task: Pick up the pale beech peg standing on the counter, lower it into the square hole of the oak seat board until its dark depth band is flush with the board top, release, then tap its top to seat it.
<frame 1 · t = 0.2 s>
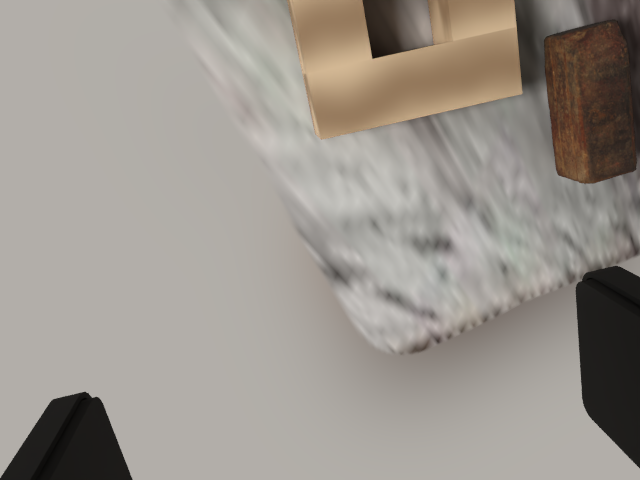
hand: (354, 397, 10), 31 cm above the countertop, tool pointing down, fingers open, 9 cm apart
brick: (569, 102, 41), on the countertop
seat board: (391, 13, 37), on the countertop
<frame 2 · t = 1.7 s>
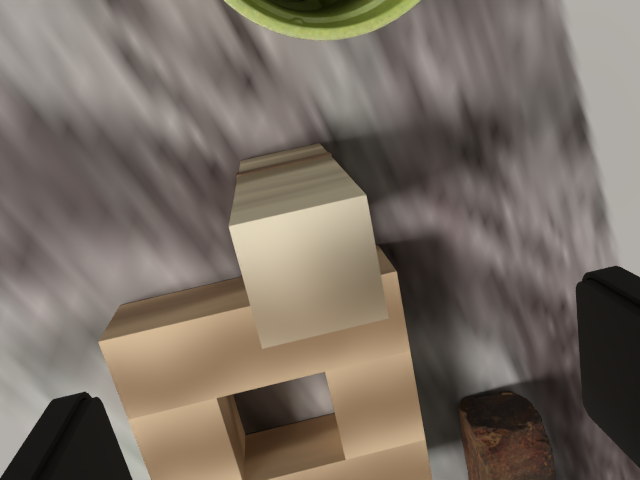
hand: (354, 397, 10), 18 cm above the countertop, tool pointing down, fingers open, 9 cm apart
brick: (492, 455, 34), on the countertop
seat board: (280, 385, 30), on the countertop
peg: (288, 190, 27), on the countertop
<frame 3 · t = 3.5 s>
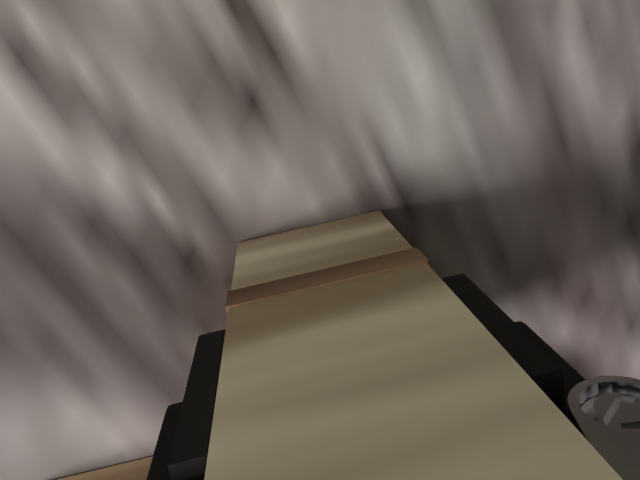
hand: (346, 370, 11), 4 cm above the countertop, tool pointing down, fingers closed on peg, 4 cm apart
peg: (323, 291, 15), on the countertop, touching gripper
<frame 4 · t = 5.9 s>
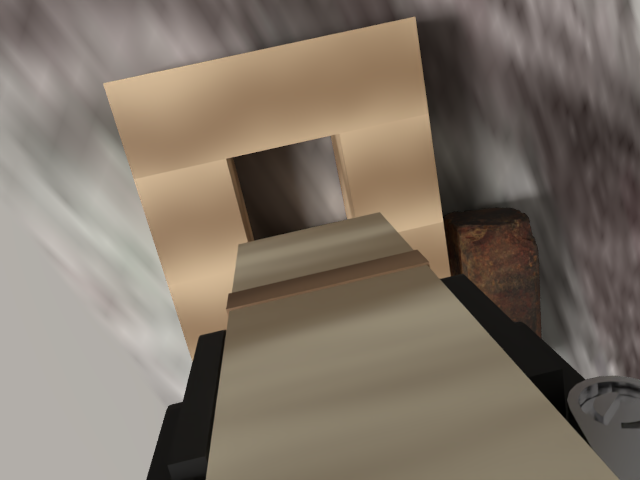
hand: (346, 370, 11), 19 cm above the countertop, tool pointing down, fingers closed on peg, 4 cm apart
brick: (474, 288, 33), on the countertop
seat board: (290, 185, 29), on the countertop
peg: (323, 293, 15), point 15 cm above the countertop, touching gripper
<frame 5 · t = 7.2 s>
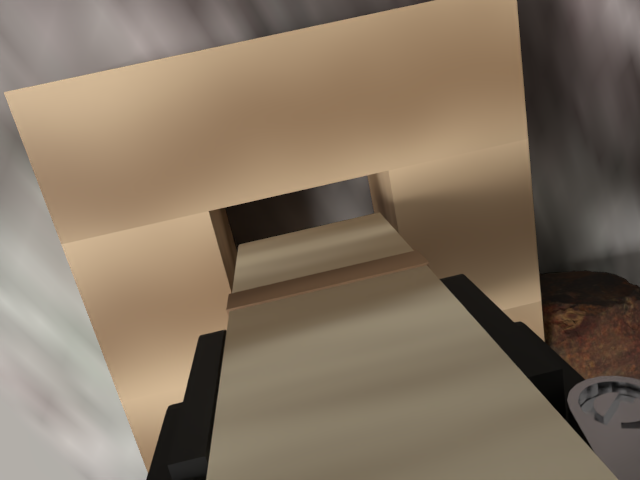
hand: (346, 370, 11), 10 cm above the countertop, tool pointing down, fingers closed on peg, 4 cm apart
brick: (543, 375, 24), on the countertop
seat board: (306, 237, 20), on the countertop
peg: (323, 293, 15), point 5 cm above the countertop, touching gripper
when the fingers open (5 cm above the countertop, at t = 8.4 s): peg stays where it is, resting in seat board.
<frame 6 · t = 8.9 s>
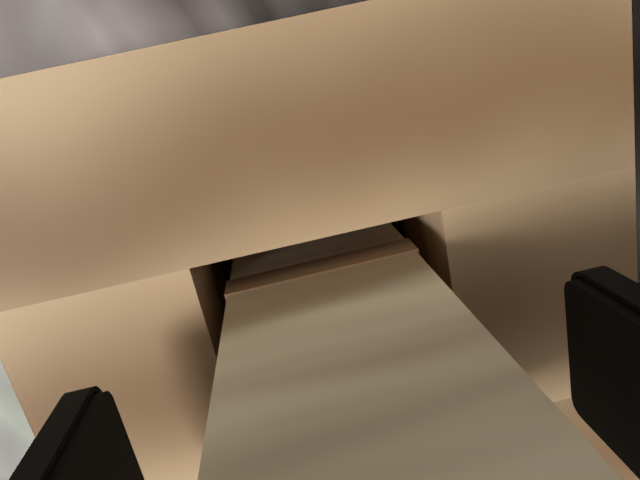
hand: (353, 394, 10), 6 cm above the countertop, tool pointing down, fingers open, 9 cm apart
seat board: (321, 285, 16), on the countertop
peg: (320, 283, 16), resting in seat board
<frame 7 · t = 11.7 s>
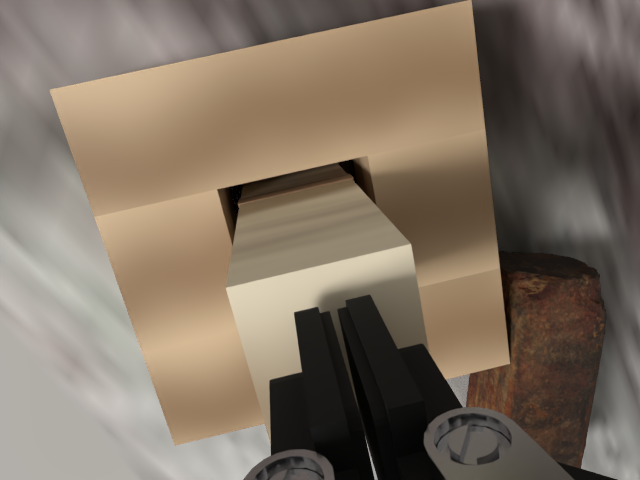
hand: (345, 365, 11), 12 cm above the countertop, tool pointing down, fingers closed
brick: (504, 346, 27), on the countertop
seat board: (300, 216, 23), on the countertop
peg: (299, 215, 23), resting in seat board
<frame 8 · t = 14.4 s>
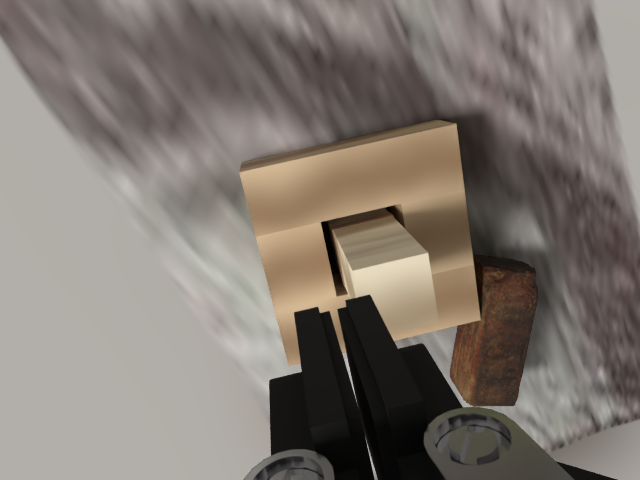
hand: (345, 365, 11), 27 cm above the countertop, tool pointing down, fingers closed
brick: (479, 316, 43), on the countertop
seat board: (357, 234, 39), on the countertop
peg: (357, 233, 39), resting in seat board
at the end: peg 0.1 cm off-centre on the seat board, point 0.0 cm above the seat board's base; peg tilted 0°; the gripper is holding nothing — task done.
